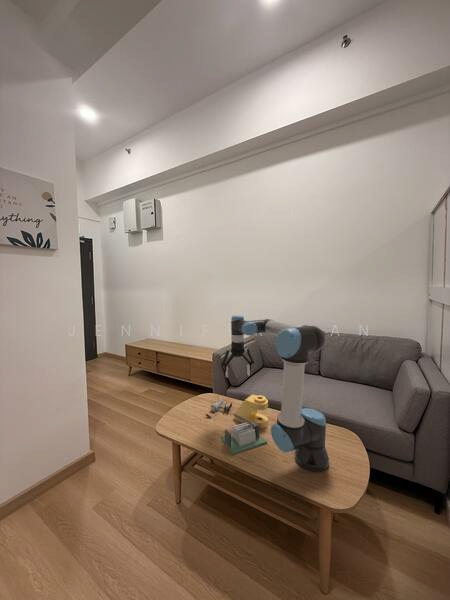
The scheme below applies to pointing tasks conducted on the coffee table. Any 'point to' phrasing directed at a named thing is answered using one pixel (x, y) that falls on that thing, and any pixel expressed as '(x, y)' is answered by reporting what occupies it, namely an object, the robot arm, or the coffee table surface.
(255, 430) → the heatsink base
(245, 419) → the strap
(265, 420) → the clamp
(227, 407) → the clip-on lamp
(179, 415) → the coffee table surface
